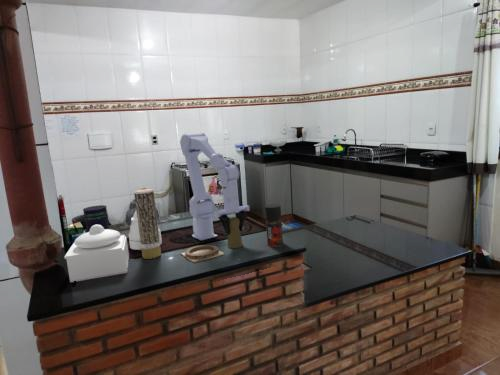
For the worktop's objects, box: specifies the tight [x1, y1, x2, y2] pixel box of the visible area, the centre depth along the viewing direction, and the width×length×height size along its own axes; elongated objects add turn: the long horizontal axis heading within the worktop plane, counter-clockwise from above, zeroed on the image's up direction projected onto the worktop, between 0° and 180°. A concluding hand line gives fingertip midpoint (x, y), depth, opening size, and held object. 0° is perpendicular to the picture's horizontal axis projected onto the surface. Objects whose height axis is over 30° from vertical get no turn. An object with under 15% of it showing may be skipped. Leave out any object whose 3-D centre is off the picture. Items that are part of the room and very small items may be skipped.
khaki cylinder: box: [226, 217, 244, 249], centre depth 140 cm, size 6×6×11 cm
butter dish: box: [63, 224, 130, 283], centre depth 126 cm, size 18×18×16 cm
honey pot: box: [128, 210, 163, 251], centre depth 150 cm, size 13×13×18 cm
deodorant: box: [264, 203, 284, 248], centre depth 137 cm, size 6×6×15 cm
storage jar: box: [82, 205, 111, 233], centre depth 163 cm, size 10×10×15 cm
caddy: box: [180, 244, 225, 264], centre depth 133 cm, size 12×12×2 cm
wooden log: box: [133, 188, 162, 260], centre depth 134 cm, size 7×7×25 cm
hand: (233, 232), depth 140 cm, fingers closed on khaki cylinder, 5 cm apart
